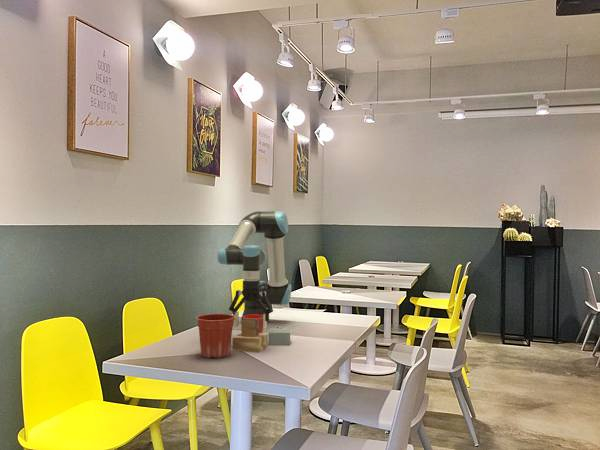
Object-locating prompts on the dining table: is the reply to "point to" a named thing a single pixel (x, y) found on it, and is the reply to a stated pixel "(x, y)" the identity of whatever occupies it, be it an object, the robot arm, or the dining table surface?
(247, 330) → the walnut block
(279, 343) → the sage green pedestal
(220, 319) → the flower pot
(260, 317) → the flower pot
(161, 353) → the dining table surface
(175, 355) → the dining table surface
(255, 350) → the oak pedestal
